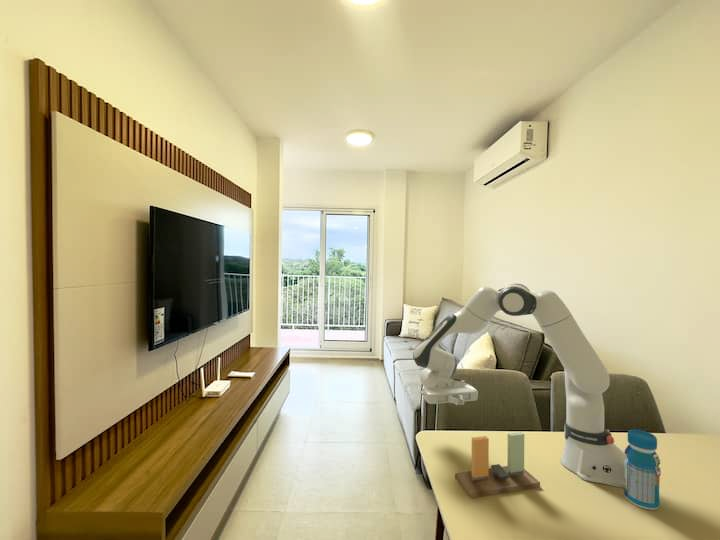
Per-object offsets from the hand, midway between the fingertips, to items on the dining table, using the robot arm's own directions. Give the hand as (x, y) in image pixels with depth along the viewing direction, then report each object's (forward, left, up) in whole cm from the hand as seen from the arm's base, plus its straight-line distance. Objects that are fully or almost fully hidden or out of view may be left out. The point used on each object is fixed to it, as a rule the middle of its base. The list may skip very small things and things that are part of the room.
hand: (460, 402), depth 120 cm
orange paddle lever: (-9, +8, -19) cm, 23 cm away
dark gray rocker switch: (-14, +3, -20) cm, 24 cm away
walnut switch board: (-13, +4, -21) cm, 25 cm away
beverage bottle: (-51, -10, -22) cm, 56 cm away
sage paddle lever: (-18, -1, -19) cm, 26 cm away
